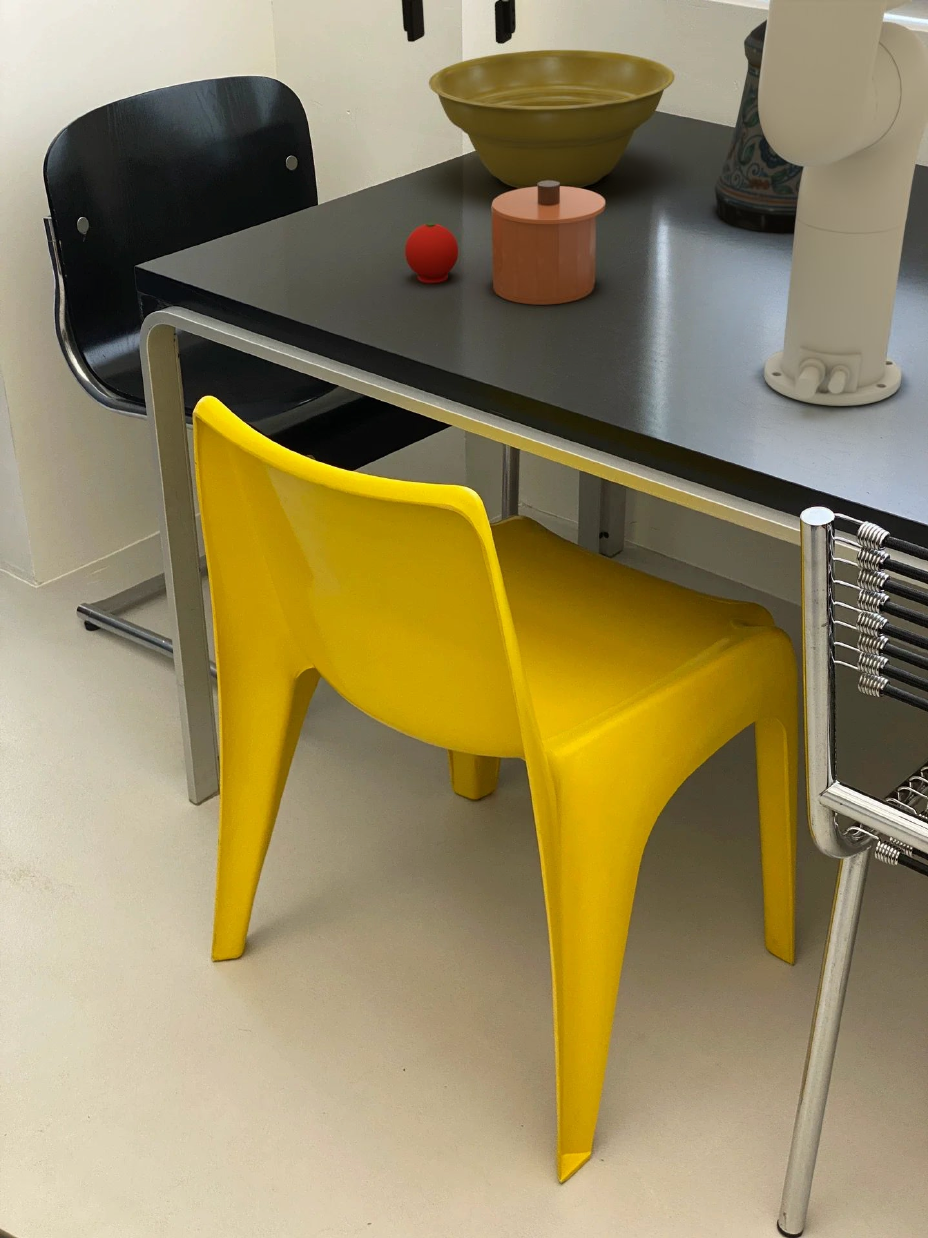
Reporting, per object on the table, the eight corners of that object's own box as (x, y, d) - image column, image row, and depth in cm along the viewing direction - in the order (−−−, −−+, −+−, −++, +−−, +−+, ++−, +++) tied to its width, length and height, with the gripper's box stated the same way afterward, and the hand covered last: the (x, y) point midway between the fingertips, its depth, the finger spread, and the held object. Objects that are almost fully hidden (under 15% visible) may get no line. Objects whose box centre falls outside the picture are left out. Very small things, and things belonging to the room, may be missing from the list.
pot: (577, 308, 152) (578, 226, 147) (479, 299, 156) (477, 217, 151) (605, 274, 161) (607, 195, 156) (512, 265, 164) (511, 187, 159)
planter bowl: (568, 229, 175) (569, 116, 168) (384, 184, 194) (378, 81, 186) (716, 170, 194) (722, 67, 187) (536, 134, 213) (536, 40, 206)
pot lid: (589, 233, 147) (590, 203, 145) (477, 225, 150) (477, 196, 149) (616, 199, 157) (617, 170, 155) (510, 192, 160) (510, 164, 158)
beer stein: (729, 189, 187) (743, -17, 173) (880, 201, 181) (907, -11, 167) (699, 227, 174) (713, 8, 160) (861, 241, 168) (889, 15, 154)
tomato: (448, 289, 159) (446, 233, 155) (398, 284, 160) (395, 229, 157) (466, 271, 163) (464, 217, 160) (418, 266, 165) (415, 213, 162)
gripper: (353, -144, 136) (368, 45, 146) (524, -148, 131) (528, 49, 140) (384, -151, 142) (396, 31, 151) (548, -155, 137) (551, 34, 146)
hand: (459, 39), depth 146 cm, fingers open, 9 cm apart
